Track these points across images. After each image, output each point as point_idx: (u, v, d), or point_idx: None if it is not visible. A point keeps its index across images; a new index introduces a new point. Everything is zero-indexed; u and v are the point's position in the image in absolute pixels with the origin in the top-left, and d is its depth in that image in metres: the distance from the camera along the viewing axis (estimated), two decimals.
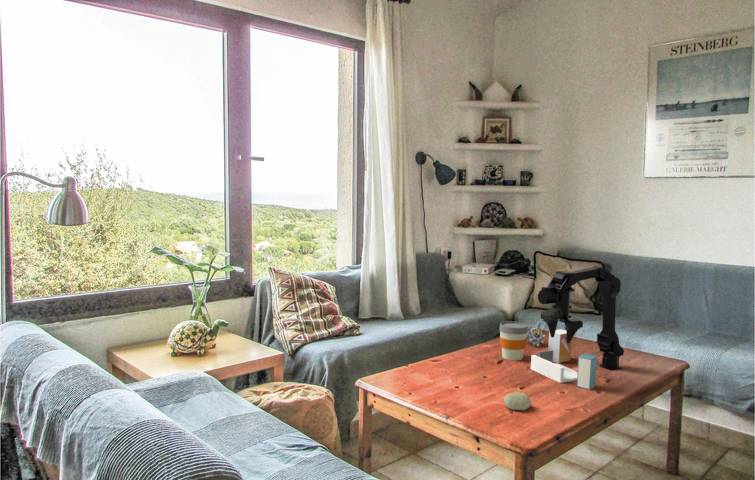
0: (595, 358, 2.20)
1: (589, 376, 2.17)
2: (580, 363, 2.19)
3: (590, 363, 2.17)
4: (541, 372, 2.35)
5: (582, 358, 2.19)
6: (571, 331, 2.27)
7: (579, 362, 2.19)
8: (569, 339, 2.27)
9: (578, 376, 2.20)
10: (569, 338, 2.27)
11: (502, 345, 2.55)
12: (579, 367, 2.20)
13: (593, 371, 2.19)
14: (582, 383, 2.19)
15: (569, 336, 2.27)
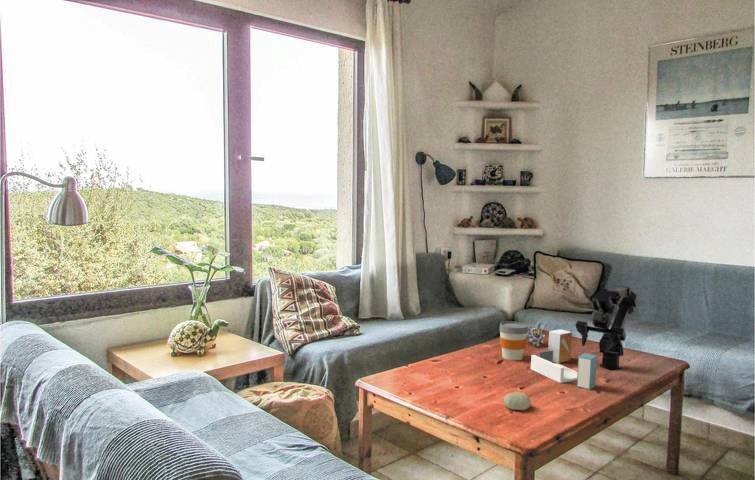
0: (595, 358, 2.20)
1: (589, 376, 2.17)
2: (580, 363, 2.19)
3: (590, 363, 2.17)
4: (541, 372, 2.35)
5: (582, 358, 2.19)
6: (613, 340, 2.25)
7: (579, 362, 2.19)
8: (609, 346, 2.24)
9: (578, 376, 2.20)
10: (609, 345, 2.24)
11: (502, 345, 2.55)
12: (579, 367, 2.20)
13: (593, 371, 2.19)
14: (582, 383, 2.19)
15: (611, 343, 2.24)
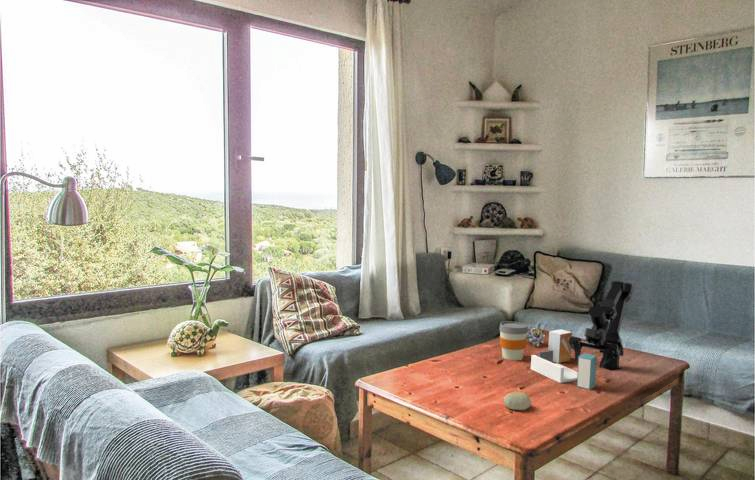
0: (595, 358, 2.20)
1: (589, 376, 2.17)
2: (580, 363, 2.19)
3: (590, 363, 2.17)
4: (541, 372, 2.35)
5: (582, 358, 2.19)
6: (606, 357, 2.20)
7: (579, 362, 2.19)
8: (602, 363, 2.19)
9: (578, 376, 2.20)
10: (603, 362, 2.19)
11: (502, 345, 2.55)
12: (579, 367, 2.20)
13: (593, 371, 2.19)
14: (582, 383, 2.19)
15: (604, 360, 2.19)
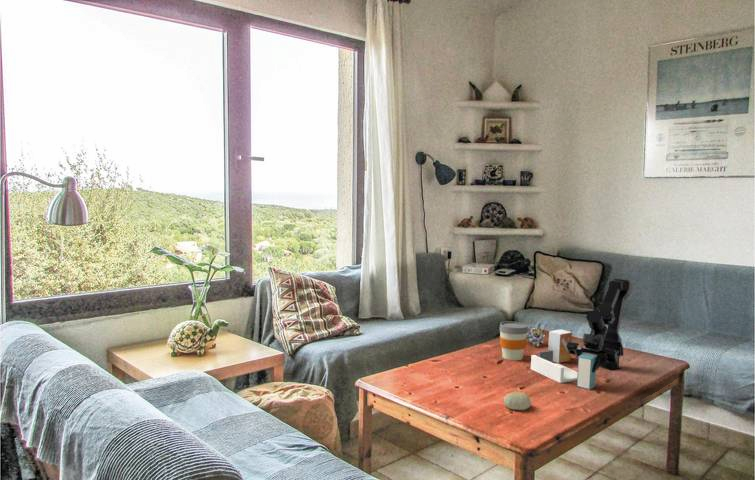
0: (595, 358, 2.20)
1: (589, 376, 2.17)
2: (580, 363, 2.19)
3: (590, 363, 2.17)
4: (541, 372, 2.35)
5: (582, 358, 2.19)
6: (599, 361, 2.20)
7: (579, 362, 2.19)
8: (595, 368, 2.19)
9: (578, 376, 2.20)
10: (596, 367, 2.19)
11: (502, 345, 2.55)
12: (579, 367, 2.20)
13: None
14: (582, 383, 2.19)
15: (597, 365, 2.19)
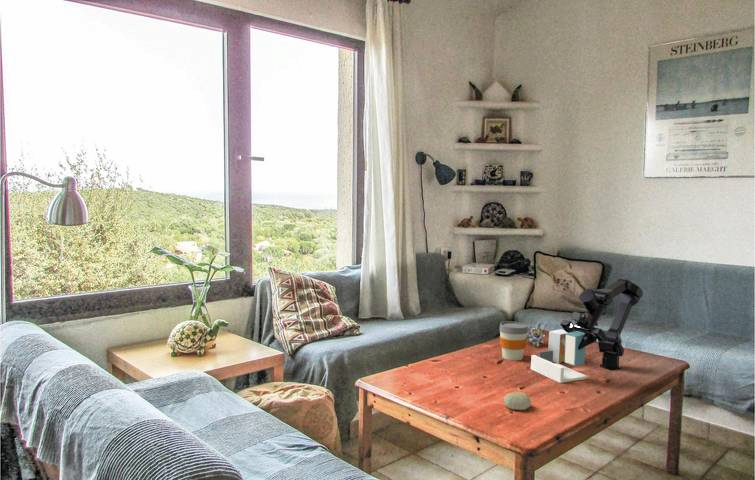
0: (583, 336, 2.26)
1: (574, 353, 2.24)
2: (567, 340, 2.27)
3: (574, 340, 2.24)
4: (541, 372, 2.35)
5: (568, 335, 2.26)
6: (587, 340, 2.25)
7: (566, 339, 2.27)
8: (582, 346, 2.25)
9: (565, 352, 2.28)
10: (582, 345, 2.25)
11: (502, 345, 2.55)
12: (566, 344, 2.27)
13: None
14: (568, 359, 2.27)
15: (584, 342, 2.25)
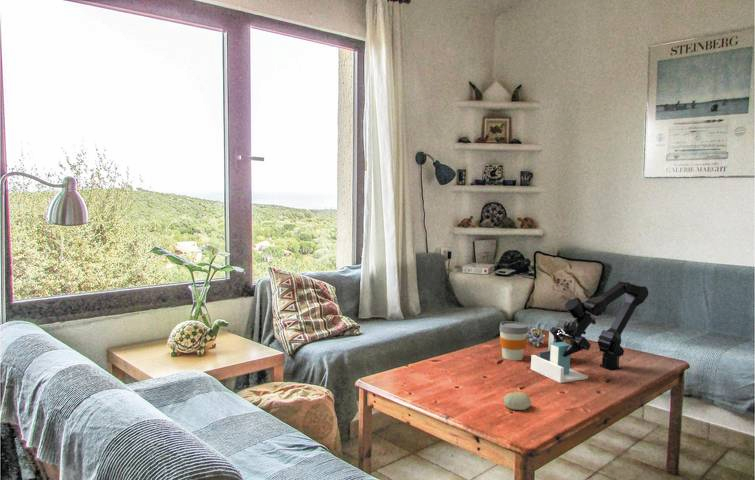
0: (567, 347, 2.31)
1: (557, 362, 2.30)
2: (551, 349, 2.33)
3: (558, 350, 2.30)
4: (541, 372, 2.35)
5: (553, 345, 2.32)
6: (573, 348, 2.29)
7: (551, 349, 2.33)
8: (567, 353, 2.29)
9: None
10: (568, 352, 2.29)
11: (502, 345, 2.55)
12: (551, 353, 2.33)
13: (563, 359, 2.31)
14: None
15: (569, 350, 2.29)
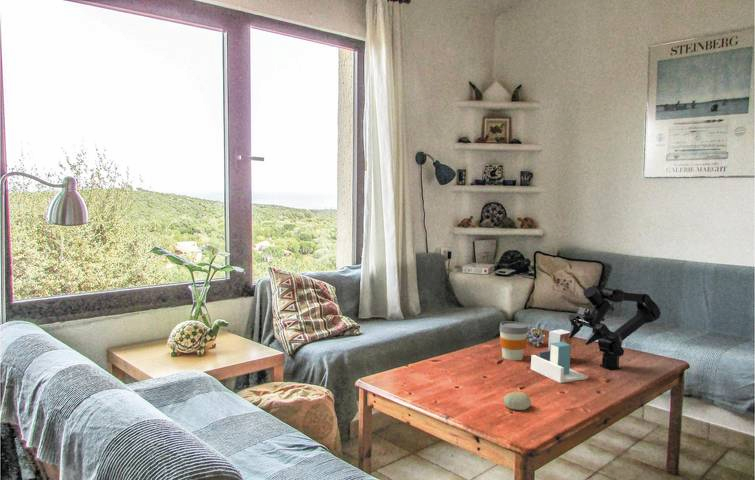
0: (567, 347, 2.31)
1: (557, 362, 2.30)
2: (551, 349, 2.33)
3: (558, 350, 2.30)
4: (541, 372, 2.35)
5: (553, 345, 2.32)
6: (595, 335, 2.32)
7: (551, 349, 2.33)
8: (589, 341, 2.32)
9: None
10: (590, 340, 2.31)
11: (502, 345, 2.55)
12: (551, 353, 2.33)
13: (563, 359, 2.31)
14: None
15: (591, 338, 2.31)
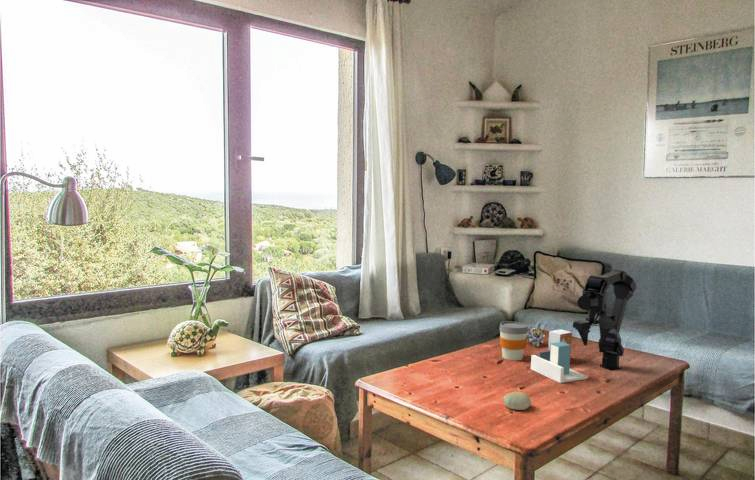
0: (567, 347, 2.31)
1: (557, 362, 2.30)
2: (551, 349, 2.33)
3: (558, 350, 2.30)
4: (541, 372, 2.35)
5: (553, 345, 2.32)
6: None
7: (551, 349, 2.33)
8: None
9: None
10: None
11: (502, 345, 2.55)
12: (551, 353, 2.33)
13: (563, 359, 2.31)
14: None
15: None
